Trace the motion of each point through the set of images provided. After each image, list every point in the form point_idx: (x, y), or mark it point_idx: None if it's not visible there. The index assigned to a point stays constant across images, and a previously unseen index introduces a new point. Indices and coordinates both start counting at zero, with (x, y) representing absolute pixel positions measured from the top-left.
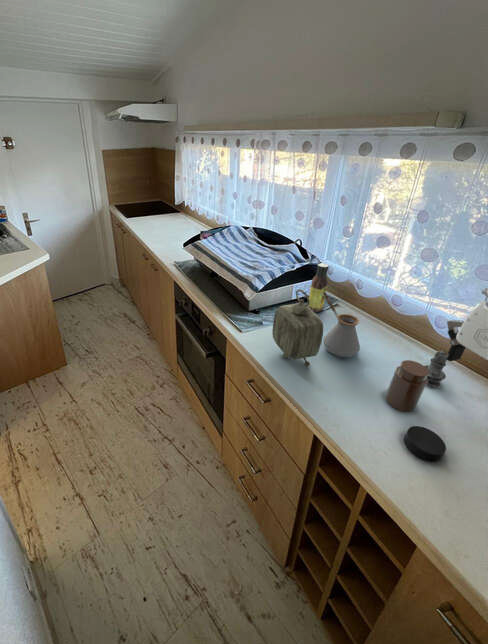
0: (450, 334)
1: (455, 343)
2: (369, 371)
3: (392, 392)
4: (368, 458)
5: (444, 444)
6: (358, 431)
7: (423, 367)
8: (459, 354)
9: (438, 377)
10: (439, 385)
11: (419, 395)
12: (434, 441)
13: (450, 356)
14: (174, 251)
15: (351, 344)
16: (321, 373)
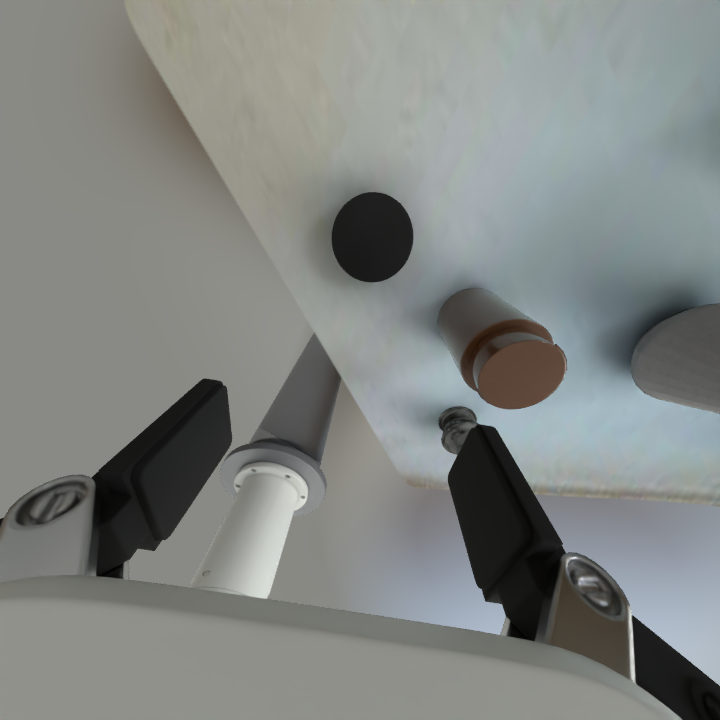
0: (700, 691)
1: (575, 591)
2: (565, 343)
3: (500, 299)
4: (422, 31)
5: (345, 268)
6: (491, 101)
7: (500, 401)
8: (465, 498)
9: (450, 433)
10: (439, 424)
11: (450, 336)
12: (360, 254)
13: (496, 450)
14: None
15: (694, 359)
16: (693, 201)
